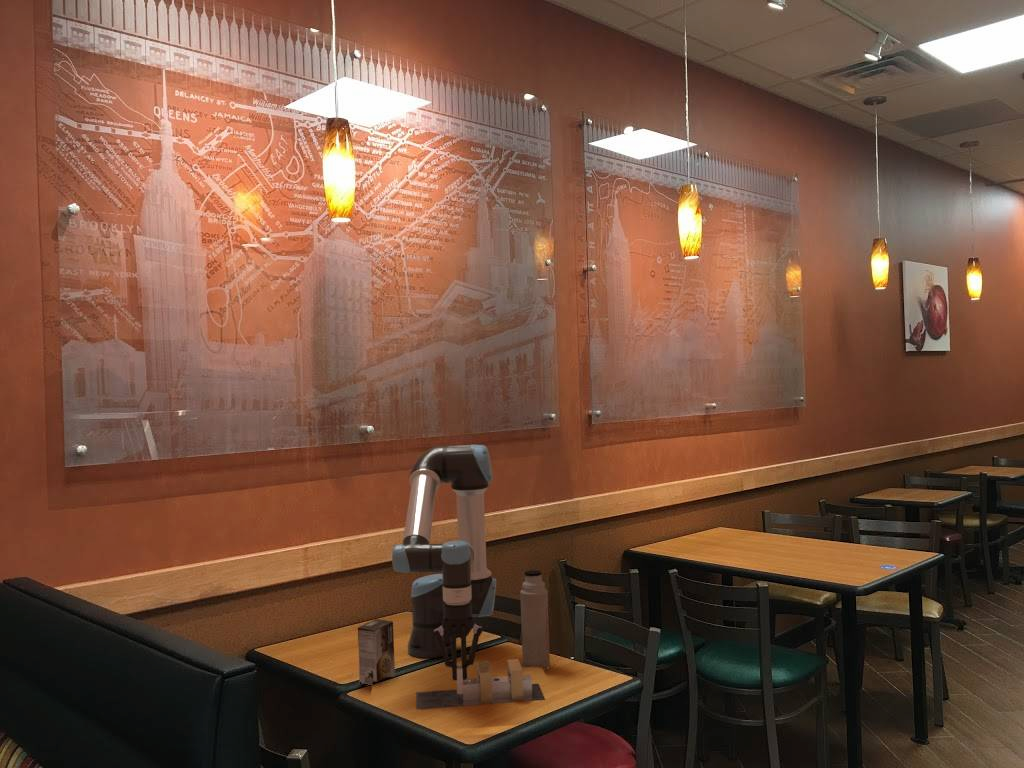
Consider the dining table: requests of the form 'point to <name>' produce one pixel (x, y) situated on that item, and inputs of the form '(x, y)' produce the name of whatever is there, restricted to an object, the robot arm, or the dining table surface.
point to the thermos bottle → (534, 621)
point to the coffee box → (376, 651)
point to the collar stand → (481, 690)
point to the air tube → (495, 687)
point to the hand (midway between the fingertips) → (460, 692)
